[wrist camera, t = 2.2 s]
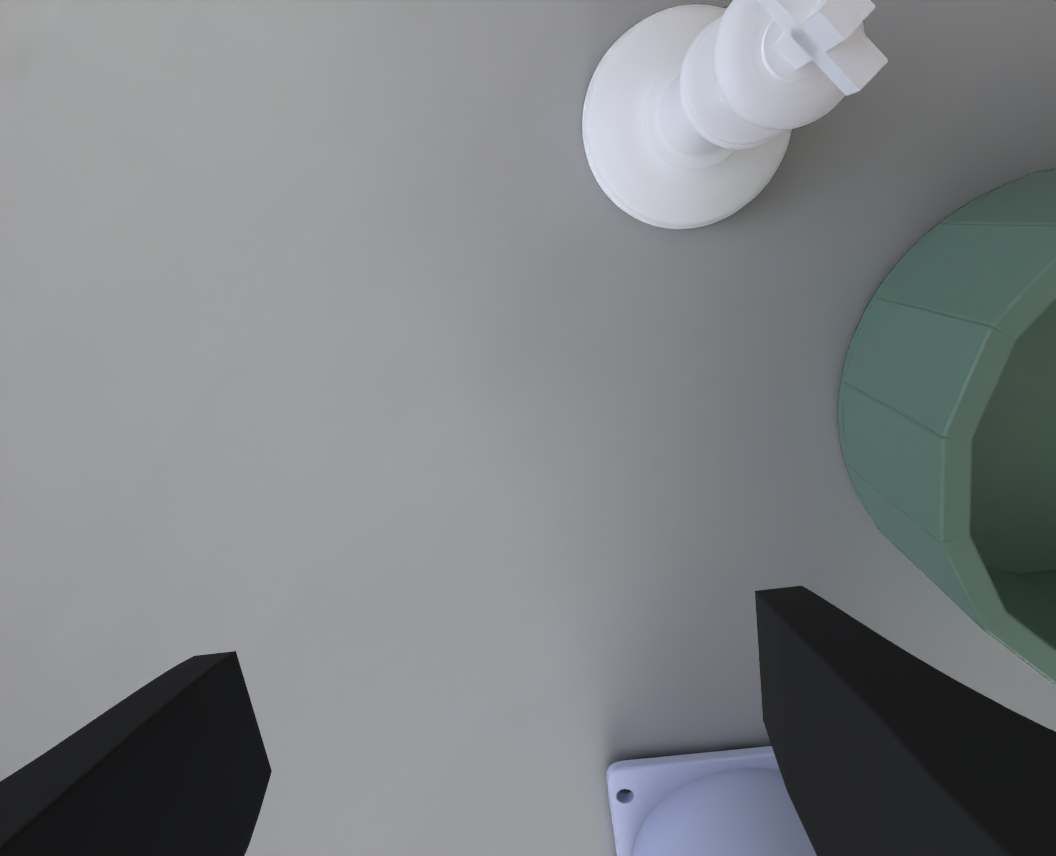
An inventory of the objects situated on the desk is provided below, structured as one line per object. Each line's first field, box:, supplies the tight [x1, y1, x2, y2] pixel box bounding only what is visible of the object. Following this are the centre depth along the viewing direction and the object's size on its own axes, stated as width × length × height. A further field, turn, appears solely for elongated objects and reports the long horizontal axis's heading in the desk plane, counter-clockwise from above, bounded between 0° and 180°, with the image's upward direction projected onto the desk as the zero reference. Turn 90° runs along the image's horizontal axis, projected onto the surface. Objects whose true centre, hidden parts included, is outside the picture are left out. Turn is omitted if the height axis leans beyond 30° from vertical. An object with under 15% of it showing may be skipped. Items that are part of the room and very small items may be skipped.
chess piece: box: [582, 0, 889, 229], centre depth 13 cm, size 5×5×10 cm
